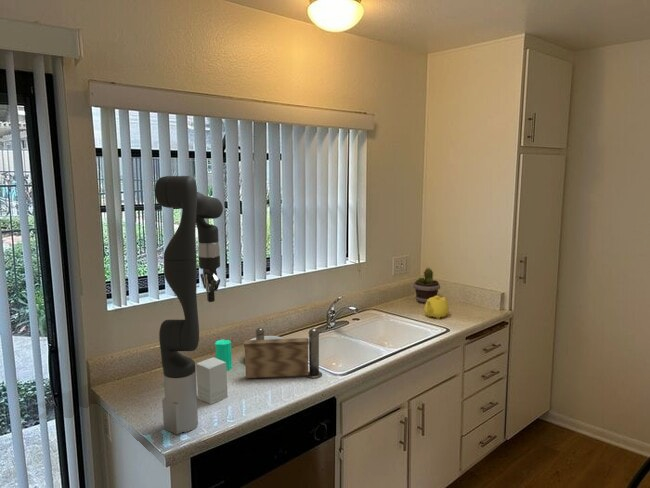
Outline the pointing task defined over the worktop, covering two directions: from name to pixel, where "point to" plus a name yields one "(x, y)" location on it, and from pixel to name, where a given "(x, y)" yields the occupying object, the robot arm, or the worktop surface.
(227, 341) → the candle
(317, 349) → the gate posts
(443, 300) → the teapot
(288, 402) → the worktop surface
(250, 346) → the gate
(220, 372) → the supplement box
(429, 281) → the flowerpot
